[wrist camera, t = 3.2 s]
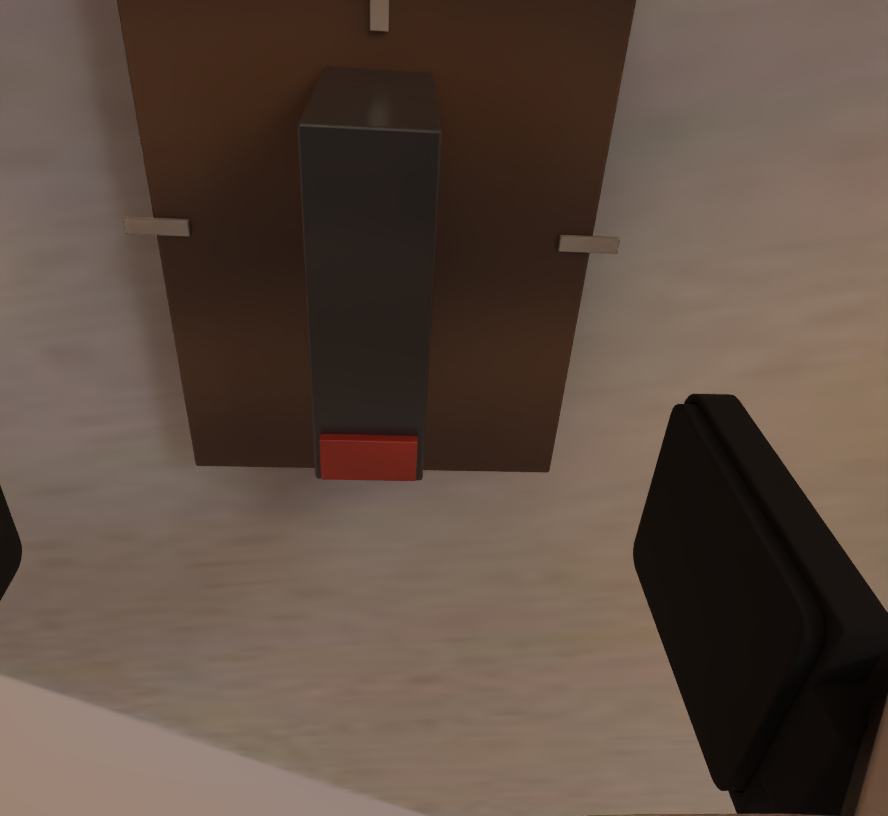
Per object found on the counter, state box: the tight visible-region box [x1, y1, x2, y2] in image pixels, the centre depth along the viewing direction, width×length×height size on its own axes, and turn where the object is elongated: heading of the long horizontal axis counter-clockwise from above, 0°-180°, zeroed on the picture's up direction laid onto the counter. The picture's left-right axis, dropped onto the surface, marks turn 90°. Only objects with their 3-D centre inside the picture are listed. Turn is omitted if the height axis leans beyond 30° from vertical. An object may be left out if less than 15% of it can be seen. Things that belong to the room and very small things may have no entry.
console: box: [117, 0, 636, 472], centre depth 18 cm, size 14×11×3 cm
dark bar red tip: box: [297, 67, 442, 481], centre depth 15 cm, size 7×2×5 cm, turn 177°
